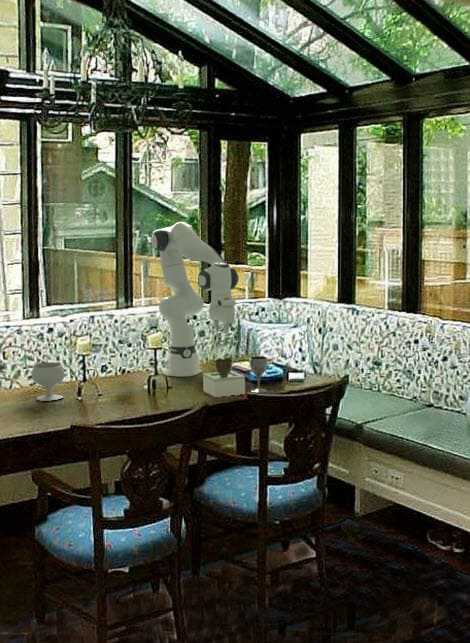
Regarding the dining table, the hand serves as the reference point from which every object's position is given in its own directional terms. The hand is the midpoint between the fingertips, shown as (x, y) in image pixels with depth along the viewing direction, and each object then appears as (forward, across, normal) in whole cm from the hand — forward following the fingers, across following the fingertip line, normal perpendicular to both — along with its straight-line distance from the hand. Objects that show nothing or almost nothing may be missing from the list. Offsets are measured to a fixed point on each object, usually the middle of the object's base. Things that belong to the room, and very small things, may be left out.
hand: (221, 331), depth 389 cm
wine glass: (+27, +6, +15) cm, 32 cm away
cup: (+20, +2, 0) cm, 20 cm away
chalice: (+28, -22, -72) cm, 80 cm away
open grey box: (+27, +2, 0) cm, 27 cm away
